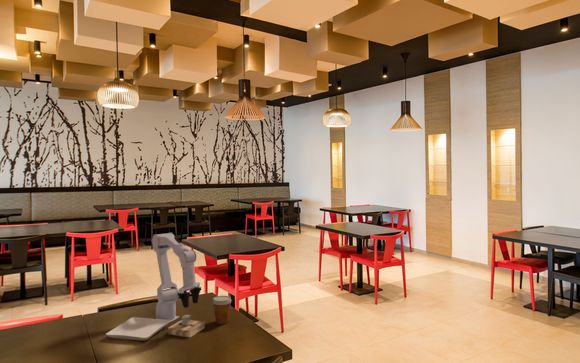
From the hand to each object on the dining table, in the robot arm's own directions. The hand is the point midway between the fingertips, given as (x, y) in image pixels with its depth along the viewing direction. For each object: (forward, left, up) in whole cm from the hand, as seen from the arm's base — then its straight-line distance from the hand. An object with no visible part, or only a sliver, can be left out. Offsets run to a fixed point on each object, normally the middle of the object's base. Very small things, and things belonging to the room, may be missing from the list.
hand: (190, 305), depth 185 cm
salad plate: (-22, -9, -13) cm, 27 cm away
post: (-2, 0, -12) cm, 13 cm away
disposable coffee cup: (+8, +16, -13) cm, 22 cm away
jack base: (-2, 0, -12) cm, 13 cm away
